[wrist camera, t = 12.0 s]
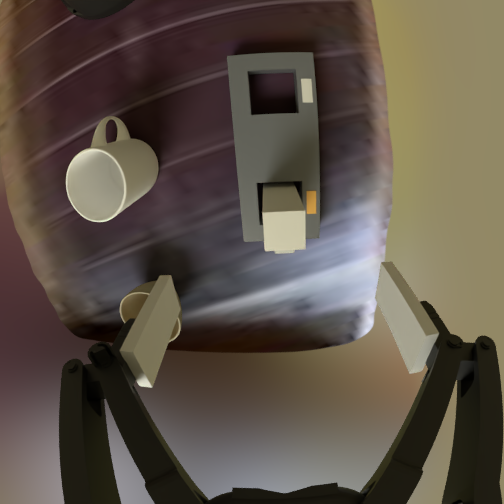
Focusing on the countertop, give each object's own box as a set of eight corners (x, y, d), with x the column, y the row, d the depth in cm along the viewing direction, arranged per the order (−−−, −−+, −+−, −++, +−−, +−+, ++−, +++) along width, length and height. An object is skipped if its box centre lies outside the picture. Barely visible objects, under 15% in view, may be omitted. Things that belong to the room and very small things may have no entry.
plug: (263, 183, 37) (262, 212, 26) (293, 181, 36) (305, 210, 26) (265, 218, 39) (265, 260, 28) (294, 217, 39) (305, 258, 28)
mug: (157, 110, 32) (120, 110, 23) (163, 194, 38) (131, 221, 28) (104, 119, 33) (58, 125, 23) (112, 197, 38) (72, 223, 29)
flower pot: (175, 260, 43) (160, 286, 36) (200, 310, 47) (191, 338, 41) (126, 275, 44) (108, 299, 38) (152, 319, 49) (140, 346, 42)
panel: (230, 61, 29) (226, 56, 26) (309, 57, 29) (312, 52, 26) (245, 232, 40) (243, 242, 37) (315, 229, 39) (319, 238, 37)
